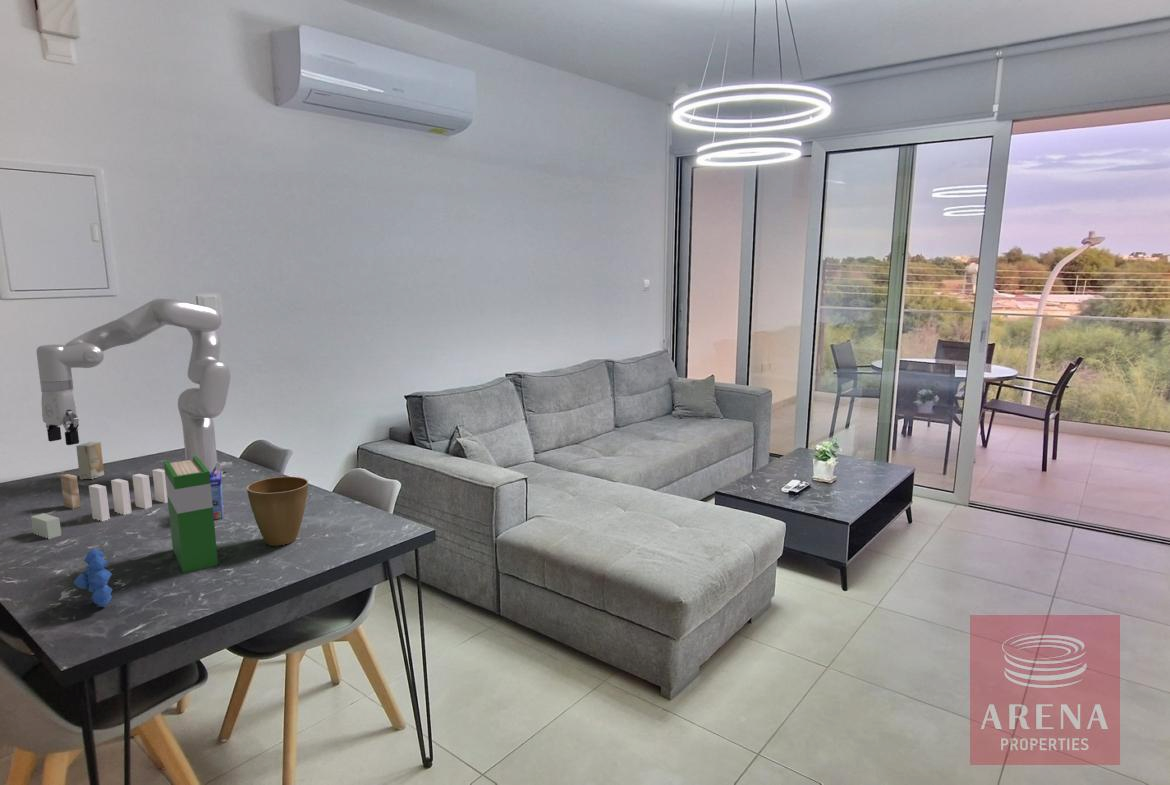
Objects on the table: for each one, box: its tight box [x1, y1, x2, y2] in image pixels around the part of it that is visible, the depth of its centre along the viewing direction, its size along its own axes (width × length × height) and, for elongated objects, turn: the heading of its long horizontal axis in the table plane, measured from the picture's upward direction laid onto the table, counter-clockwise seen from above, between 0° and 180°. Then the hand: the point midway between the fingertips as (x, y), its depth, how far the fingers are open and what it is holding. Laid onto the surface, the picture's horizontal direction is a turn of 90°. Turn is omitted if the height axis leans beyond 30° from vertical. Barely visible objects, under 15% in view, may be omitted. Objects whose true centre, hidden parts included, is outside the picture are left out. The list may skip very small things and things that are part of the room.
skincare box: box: [75, 441, 105, 480], centre depth 231 cm, size 6×4×12 cm
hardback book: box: [163, 456, 219, 574], centre depth 165 cm, size 18×7×24 cm, turn 39°
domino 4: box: [132, 473, 153, 510], centre depth 202 cm, size 2×5×10 cm, turn 63°
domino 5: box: [152, 468, 168, 504], centre depth 207 cm, size 2×5×10 cm, turn 63°
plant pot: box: [246, 476, 309, 547], centre depth 176 cm, size 15×15×16 cm
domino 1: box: [60, 473, 82, 510], centre depth 201 cm, size 2×5×10 cm, turn 63°
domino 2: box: [88, 483, 111, 522], centre depth 191 cm, size 2×5×10 cm, turn 63°
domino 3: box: [110, 478, 132, 516], centre depth 197 cm, size 2×5×10 cm, turn 63°
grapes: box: [73, 548, 114, 607], centre depth 142 cm, size 12×7×12 cm, turn 45°
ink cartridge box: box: [210, 466, 224, 520], centre depth 195 cm, size 10×6×14 cm, turn 28°
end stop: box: [30, 512, 62, 540], centre depth 180 cm, size 3×8×5 cm, turn 63°
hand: (63, 442), depth 198 cm, fingers open, 9 cm apart
